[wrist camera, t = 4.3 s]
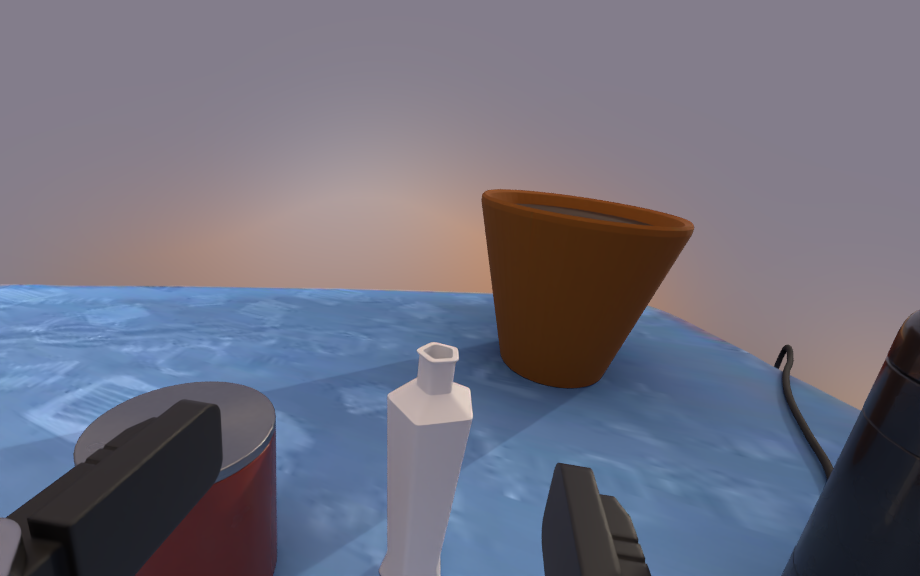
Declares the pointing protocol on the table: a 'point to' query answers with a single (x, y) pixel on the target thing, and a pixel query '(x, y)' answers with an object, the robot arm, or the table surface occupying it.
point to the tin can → (231, 496)
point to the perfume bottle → (424, 461)
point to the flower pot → (572, 278)
